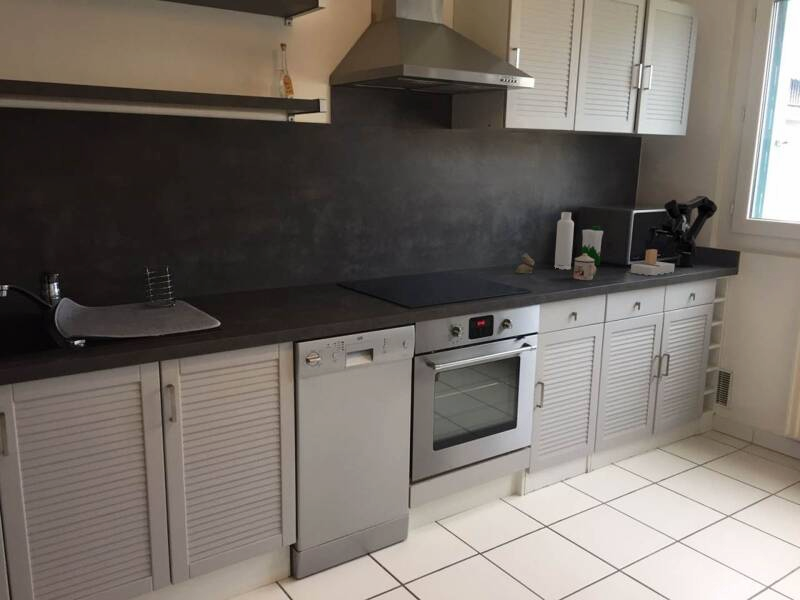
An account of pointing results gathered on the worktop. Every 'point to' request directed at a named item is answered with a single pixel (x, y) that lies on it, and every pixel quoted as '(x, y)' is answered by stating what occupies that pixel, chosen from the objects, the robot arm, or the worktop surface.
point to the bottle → (564, 241)
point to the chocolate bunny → (526, 265)
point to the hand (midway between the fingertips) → (659, 246)
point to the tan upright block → (651, 256)
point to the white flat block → (652, 268)
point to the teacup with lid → (584, 268)
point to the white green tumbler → (592, 243)
